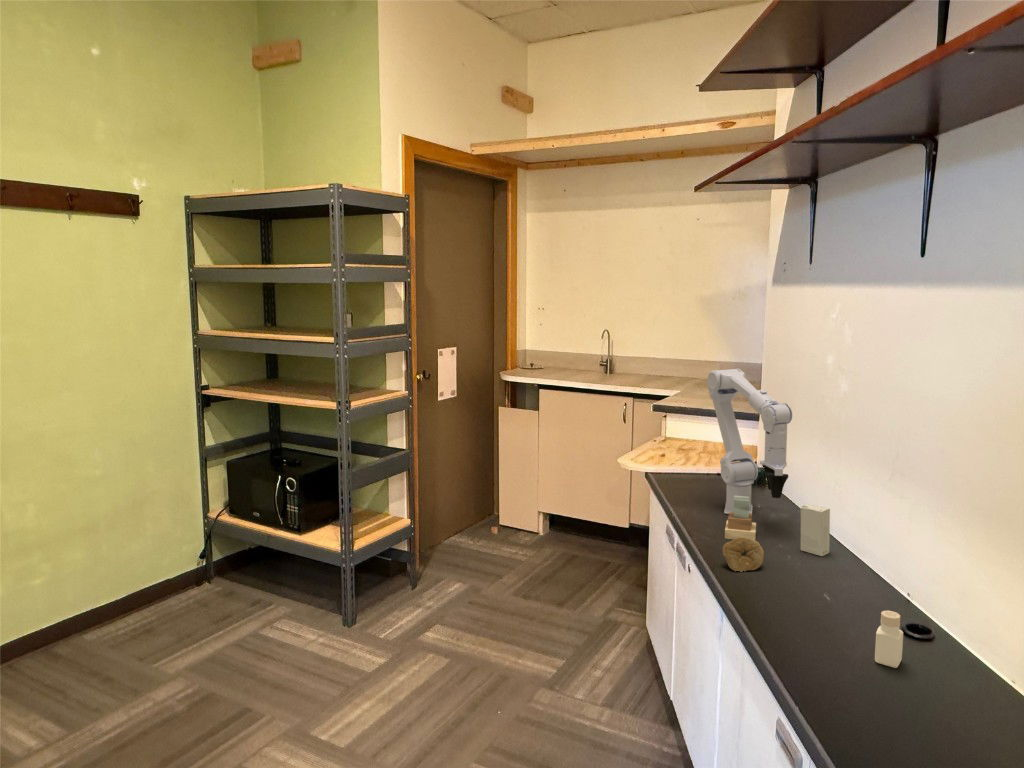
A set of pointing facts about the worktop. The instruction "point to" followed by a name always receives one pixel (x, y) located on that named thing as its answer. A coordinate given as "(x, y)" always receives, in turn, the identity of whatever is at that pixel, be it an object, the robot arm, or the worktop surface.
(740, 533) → the birch slab
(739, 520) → the walnut block
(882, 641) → the cream bottle
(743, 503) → the greenish gray cube
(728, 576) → the worktop surface
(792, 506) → the worktop surface
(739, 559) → the fossil
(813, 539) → the skincare box
